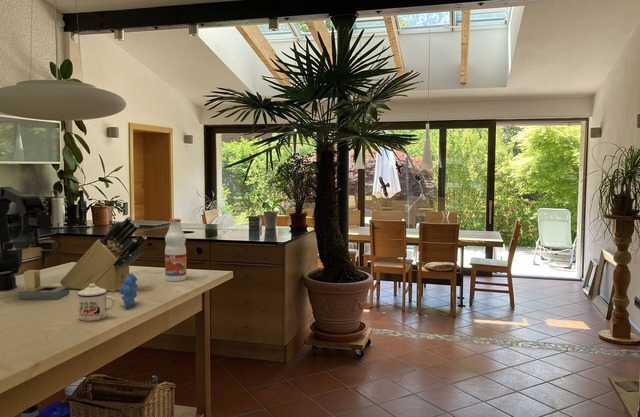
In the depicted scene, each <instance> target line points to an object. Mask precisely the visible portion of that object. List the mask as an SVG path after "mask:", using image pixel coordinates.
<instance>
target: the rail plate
mask: <svg viewBox="0 0 640 417" xmlns="http://www.w3.org/2000/svg"><path fill="white" fill-rule="evenodd" d="M70 291H71V290H70V289H69V286H62V285H40V288H37V289H35V290H25V288H23V289H22V290H20V291H18V292H17V298H18V300H19V301H20V300H31V301H32V300H33V301H35V300H38V301H39V300H41V301H42V300H43V301H45V300H46V301H49V300H53V301H54V300H55V301H56V300H59V299H62V298H63V297H65V296H68V295H69V294H70Z"/></svg>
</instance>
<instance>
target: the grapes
mask: <svg viewBox="0 0 640 417" xmlns="http://www.w3.org/2000/svg"><path fill="white" fill-rule="evenodd" d="M137 281H138V278H137V276H136V275H135V274H134V273H133V272H131V273H130V272H129V274H128V276H127V277H126V279H125V280H124V283H125V285H124V286H121V287H120V288H119V290H117V291H118V292H119V294H120V295H122V297H121V300H122V301H123V305H124V306H125V307H126V308H129V307H130V306H132V305H134V304H135V303H136V300H135V298H137V296H138V294H137V290H138V287H139V285H138V284H137Z"/></svg>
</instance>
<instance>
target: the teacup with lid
mask: <svg viewBox="0 0 640 417" xmlns="http://www.w3.org/2000/svg"><path fill="white" fill-rule="evenodd" d="M107 293H108V291H106V290H105V289H103V288H99V287H97V286H95V284H89V287H87V288H85V289H80V291H78V292H77V296H78V319H79V320H80V321H85V322H91V321H92V322H93V321H99V320H102V319H104V318H106V317H107V316H108V315H107V314H108V311H111V310H113V309H114V307H115V305H116V299H115V297H113V296H112V295H107ZM107 299H109V300H111V301H112V305H111V306H110V307H109V308H107Z"/></svg>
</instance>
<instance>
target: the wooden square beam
mask: <svg viewBox="0 0 640 417" xmlns="http://www.w3.org/2000/svg"><path fill="white" fill-rule="evenodd" d="M23 279H24V280H23V283H24V289H25V290H35V289H37V288H40V286H41V270H40V269H28V270H26V271H23Z"/></svg>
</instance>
